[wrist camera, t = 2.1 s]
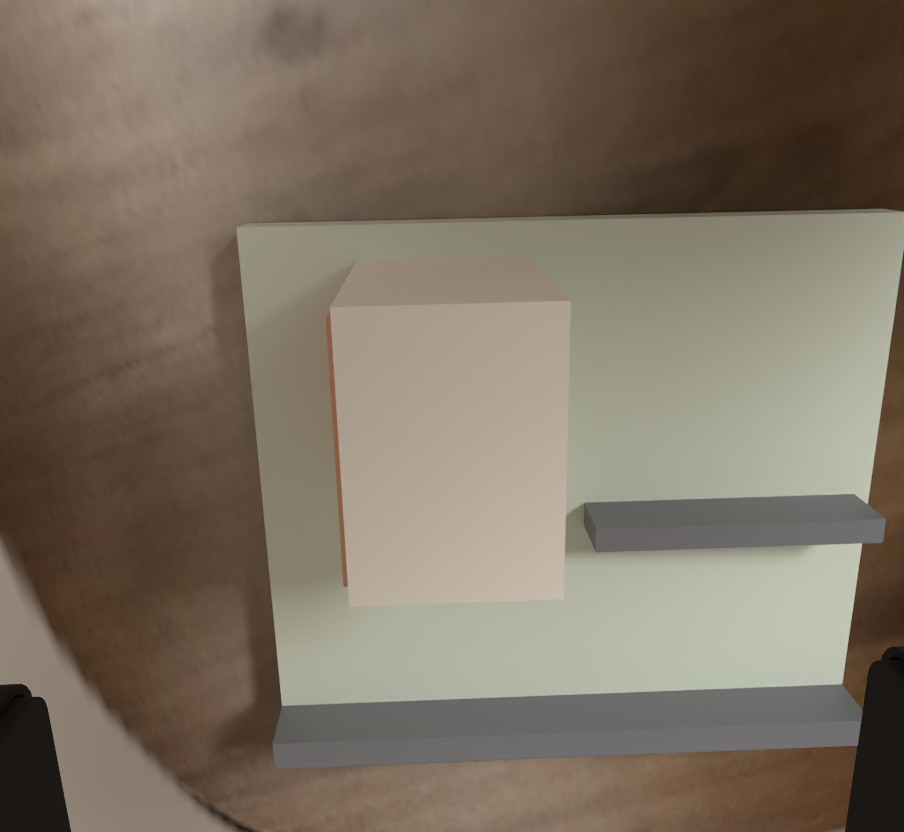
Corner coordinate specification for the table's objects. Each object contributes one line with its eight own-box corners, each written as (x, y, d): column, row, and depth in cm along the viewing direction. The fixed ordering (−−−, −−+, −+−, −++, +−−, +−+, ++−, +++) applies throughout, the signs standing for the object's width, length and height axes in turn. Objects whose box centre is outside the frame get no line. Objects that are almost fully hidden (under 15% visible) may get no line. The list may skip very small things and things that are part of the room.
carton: (525, 255, 25) (570, 300, 17) (524, 473, 27) (564, 599, 20) (351, 259, 25) (320, 307, 17) (363, 478, 27) (341, 607, 19)
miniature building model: (882, 208, 27) (948, 217, 23) (818, 694, 32) (864, 757, 29) (246, 223, 26) (220, 234, 23) (291, 714, 31) (276, 781, 28)
